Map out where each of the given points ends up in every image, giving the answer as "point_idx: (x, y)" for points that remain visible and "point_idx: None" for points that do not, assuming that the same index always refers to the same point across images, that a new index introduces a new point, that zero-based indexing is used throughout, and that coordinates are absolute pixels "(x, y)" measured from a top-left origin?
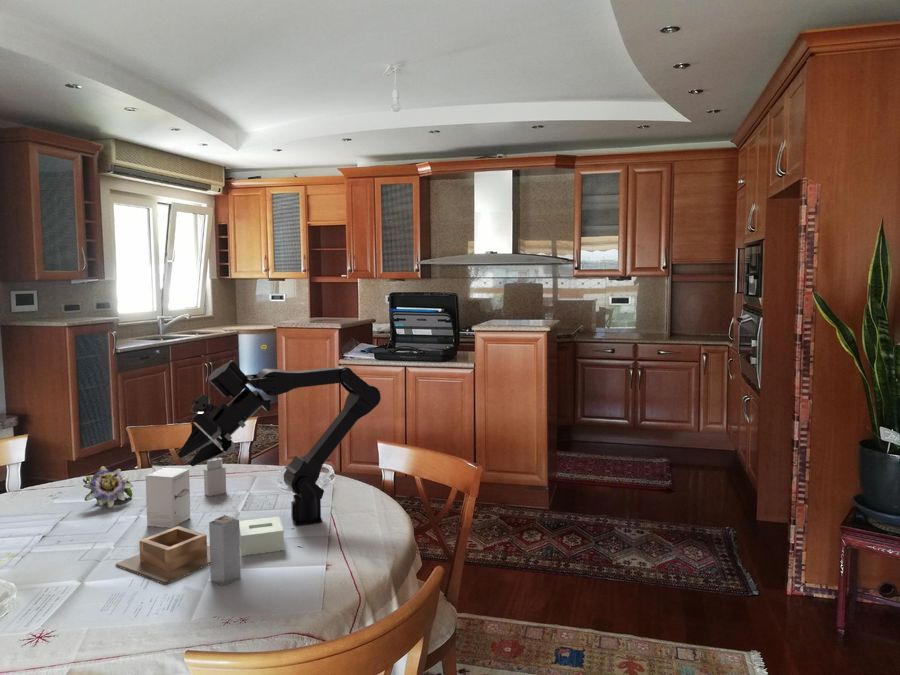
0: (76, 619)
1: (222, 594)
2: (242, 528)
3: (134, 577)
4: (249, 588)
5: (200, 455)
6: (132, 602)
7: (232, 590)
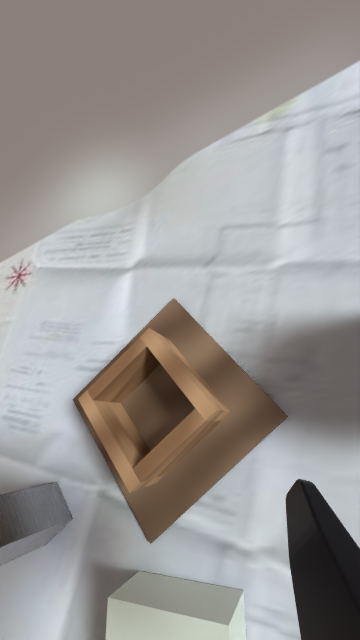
0: (35, 300)
1: None
2: (158, 620)
3: (119, 343)
4: None
5: (332, 622)
6: (45, 358)
7: None
